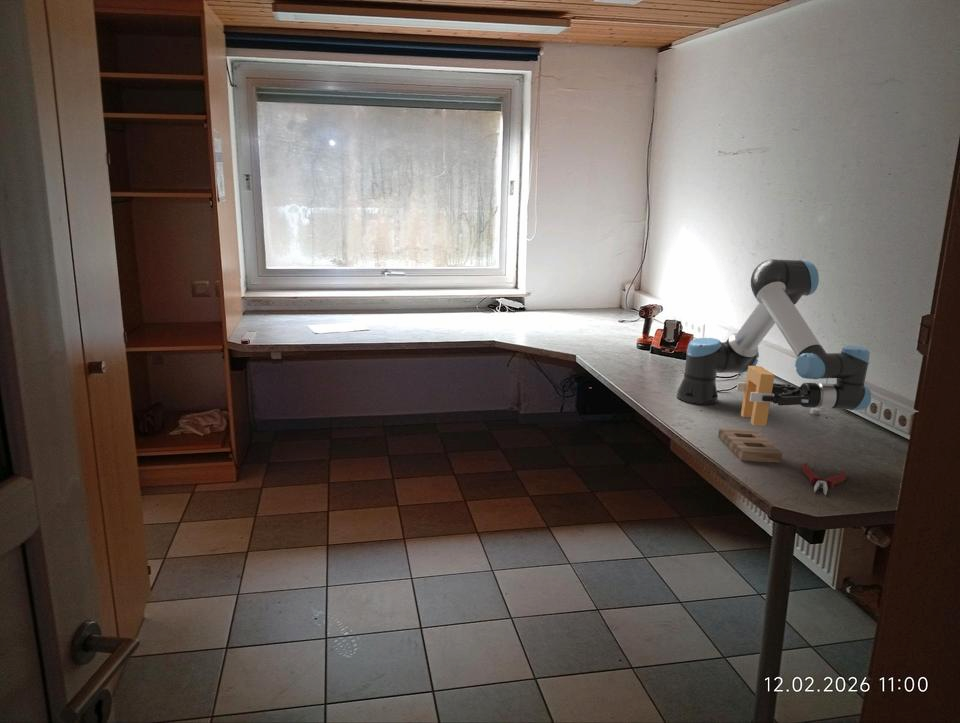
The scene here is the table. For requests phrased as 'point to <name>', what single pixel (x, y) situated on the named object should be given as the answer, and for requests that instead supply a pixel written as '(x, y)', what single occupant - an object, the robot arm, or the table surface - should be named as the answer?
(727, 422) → the table surface
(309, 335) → the table surface
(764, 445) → the wooden slotted board
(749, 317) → the robot arm
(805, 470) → the pliers
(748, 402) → the orange arch-shaped block
